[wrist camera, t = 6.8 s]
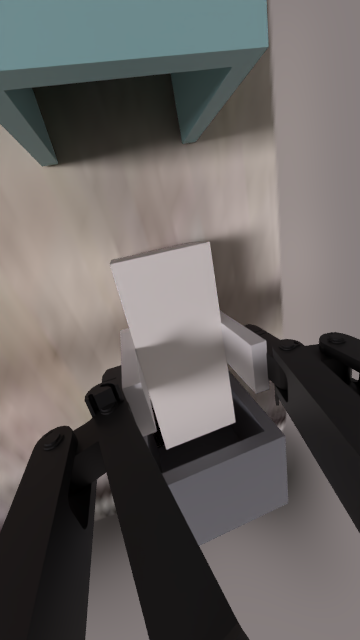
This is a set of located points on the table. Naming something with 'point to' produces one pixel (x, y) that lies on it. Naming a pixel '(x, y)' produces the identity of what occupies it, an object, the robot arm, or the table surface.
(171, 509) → the robot arm
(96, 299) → the table surface
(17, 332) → the table surface
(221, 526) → the charcoal cap
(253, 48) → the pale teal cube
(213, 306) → the slat
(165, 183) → the table surface
